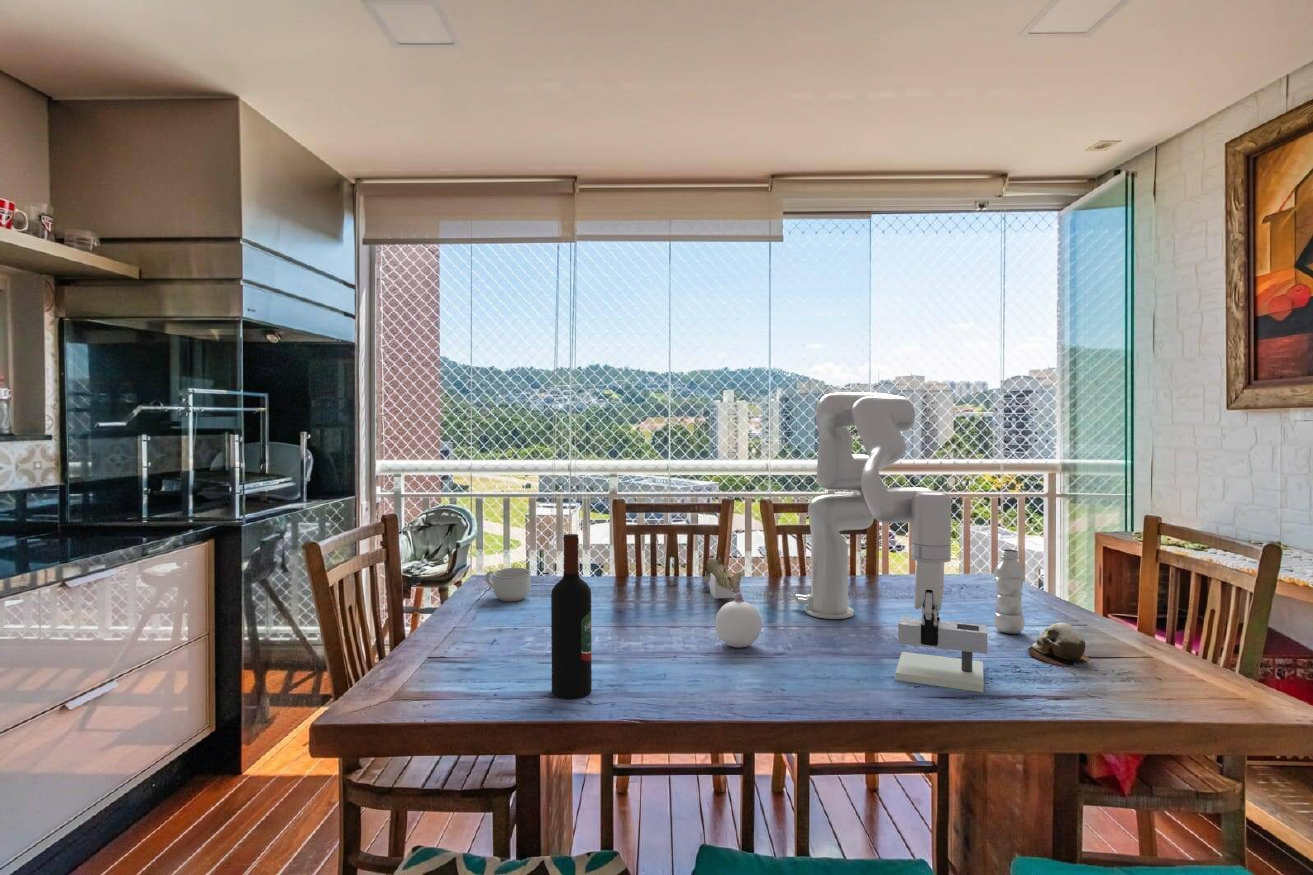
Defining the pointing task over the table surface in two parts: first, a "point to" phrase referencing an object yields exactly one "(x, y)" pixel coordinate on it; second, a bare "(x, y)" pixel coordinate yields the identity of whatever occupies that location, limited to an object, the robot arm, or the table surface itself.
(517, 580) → the teacup
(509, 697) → the table surface
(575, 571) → the wine bottle
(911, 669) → the board
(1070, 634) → the skull
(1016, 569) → the plastic bottle
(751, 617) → the ornament
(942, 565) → the robot arm
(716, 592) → the wood carving
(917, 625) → the link plate
